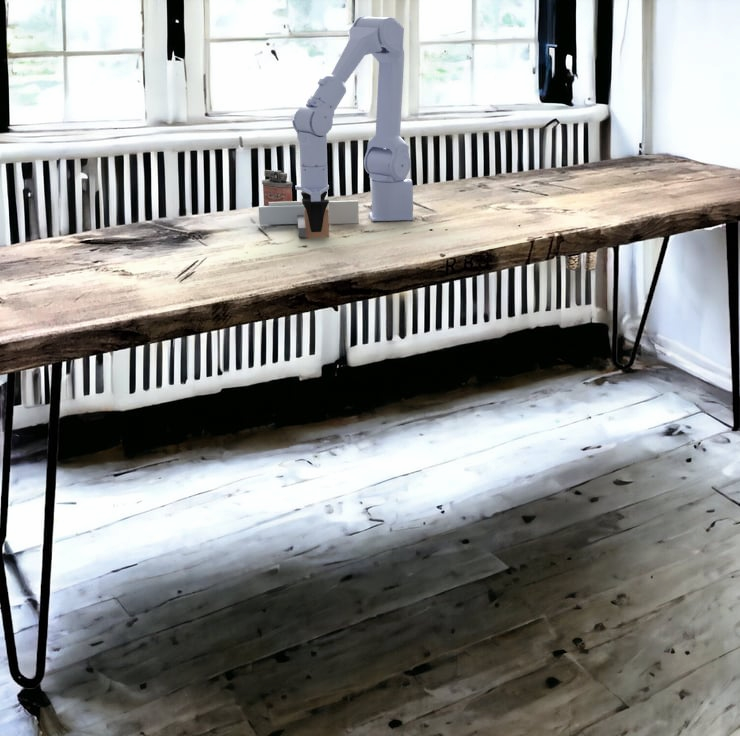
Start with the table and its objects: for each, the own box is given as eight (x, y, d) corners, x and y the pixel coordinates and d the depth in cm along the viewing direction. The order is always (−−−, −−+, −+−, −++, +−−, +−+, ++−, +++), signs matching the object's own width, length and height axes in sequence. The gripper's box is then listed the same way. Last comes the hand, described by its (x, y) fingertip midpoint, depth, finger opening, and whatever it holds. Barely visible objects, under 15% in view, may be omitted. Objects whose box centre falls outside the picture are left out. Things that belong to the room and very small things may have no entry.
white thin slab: (358, 221, 235) (357, 199, 233) (358, 223, 233) (358, 201, 231) (269, 224, 233) (268, 202, 231) (269, 225, 231) (268, 203, 230)
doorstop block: (328, 232, 225) (327, 205, 223) (329, 237, 222) (328, 209, 220) (305, 233, 225) (304, 206, 223) (305, 237, 221) (304, 210, 219)
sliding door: (304, 222, 233) (303, 204, 231) (305, 237, 220) (305, 218, 219) (259, 223, 232) (258, 206, 231) (258, 238, 220) (257, 220, 218)
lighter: (296, 213, 242) (294, 171, 239) (287, 216, 240) (286, 173, 236) (269, 210, 247) (267, 168, 243) (260, 212, 244) (258, 170, 240)
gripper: (294, 159, 224) (296, 220, 229) (295, 171, 211) (297, 236, 216) (326, 158, 225) (328, 219, 230) (329, 170, 211) (331, 235, 216)
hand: (315, 227), depth 223 cm, fingers open, 6 cm apart
